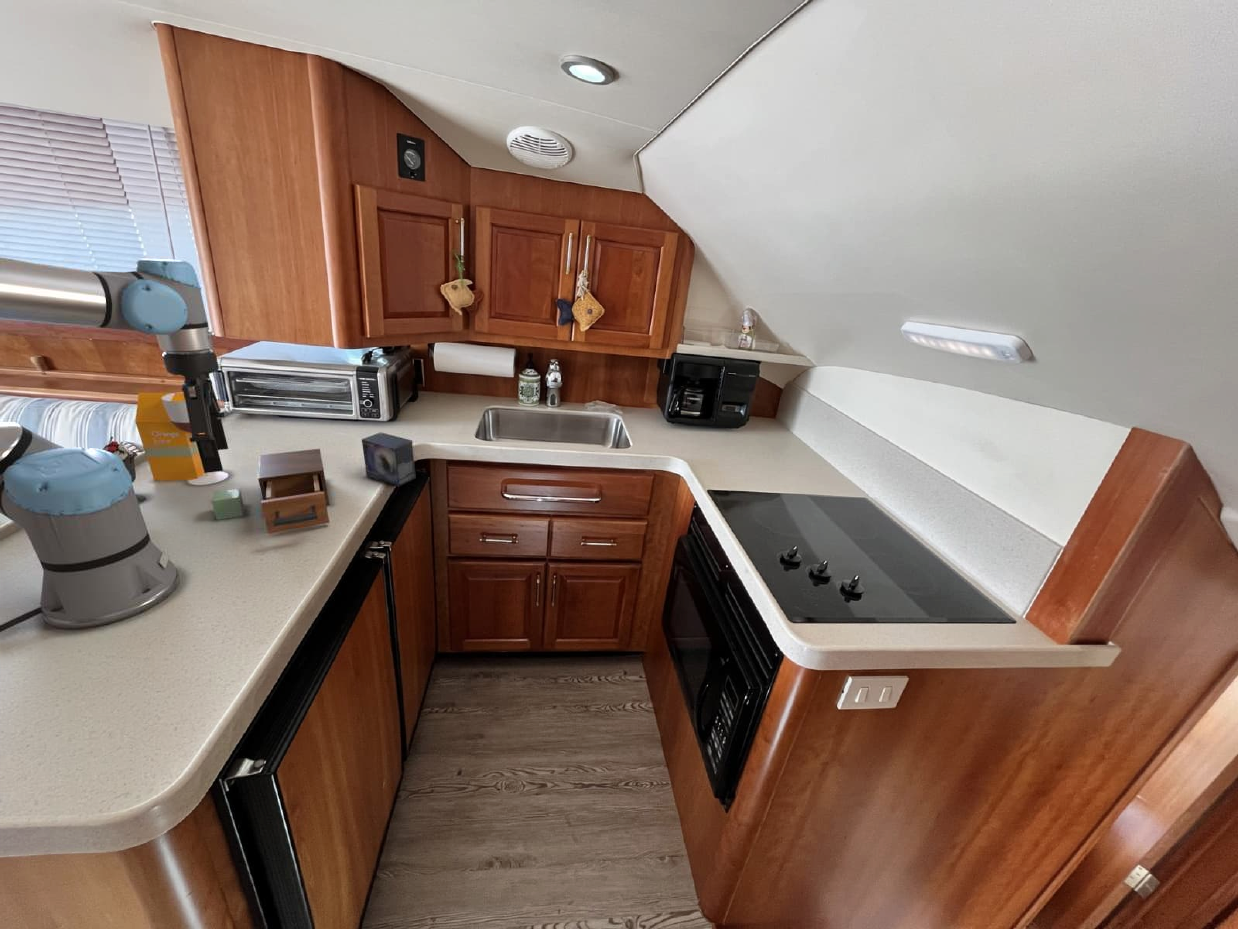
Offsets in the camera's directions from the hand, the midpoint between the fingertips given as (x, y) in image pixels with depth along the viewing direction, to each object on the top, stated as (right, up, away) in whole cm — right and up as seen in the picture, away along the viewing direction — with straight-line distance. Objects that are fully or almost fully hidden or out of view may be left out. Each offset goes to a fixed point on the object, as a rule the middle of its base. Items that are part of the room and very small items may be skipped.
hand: (217, 459), depth 98 cm
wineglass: (-17, -4, +18) cm, 25 cm away
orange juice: (-23, -3, +19) cm, 30 cm away
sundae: (-24, -9, +6) cm, 26 cm away
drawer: (+15, -12, +3) cm, 19 cm away
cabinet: (+8, -8, +13) cm, 17 cm away
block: (-1, -11, +5) cm, 12 cm away
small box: (+23, -5, +26) cm, 35 cm away
